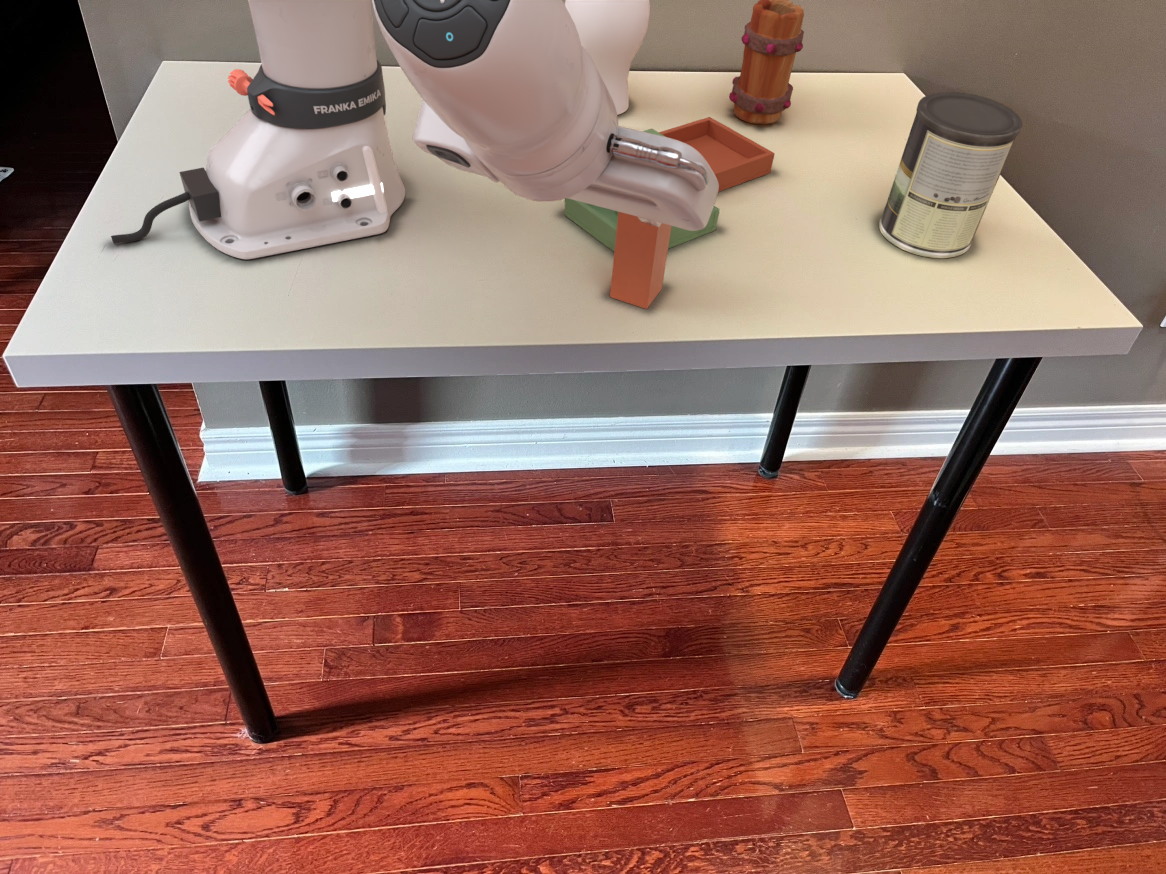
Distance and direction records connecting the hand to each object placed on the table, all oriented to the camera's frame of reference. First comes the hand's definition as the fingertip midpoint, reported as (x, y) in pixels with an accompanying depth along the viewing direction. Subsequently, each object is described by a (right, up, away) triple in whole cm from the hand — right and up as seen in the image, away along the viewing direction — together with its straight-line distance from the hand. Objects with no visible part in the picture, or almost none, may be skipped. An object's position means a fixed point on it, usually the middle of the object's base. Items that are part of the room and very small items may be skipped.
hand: (597, 200), depth 68 cm
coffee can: (+37, +4, +31) cm, 49 cm away
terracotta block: (+4, -4, +19) cm, 20 cm away
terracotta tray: (+13, +15, +39) cm, 44 cm away
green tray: (+5, +5, +29) cm, 30 cm away
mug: (+23, +26, +52) cm, 63 cm away
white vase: (+1, +26, +50) cm, 57 cm away
